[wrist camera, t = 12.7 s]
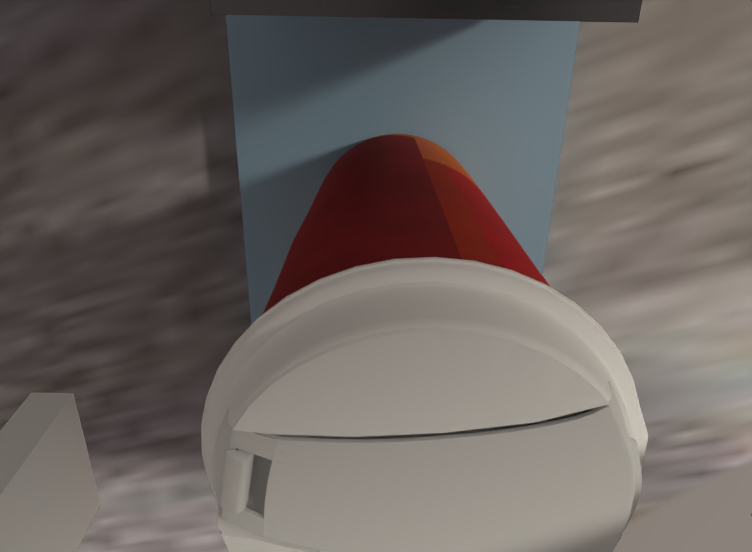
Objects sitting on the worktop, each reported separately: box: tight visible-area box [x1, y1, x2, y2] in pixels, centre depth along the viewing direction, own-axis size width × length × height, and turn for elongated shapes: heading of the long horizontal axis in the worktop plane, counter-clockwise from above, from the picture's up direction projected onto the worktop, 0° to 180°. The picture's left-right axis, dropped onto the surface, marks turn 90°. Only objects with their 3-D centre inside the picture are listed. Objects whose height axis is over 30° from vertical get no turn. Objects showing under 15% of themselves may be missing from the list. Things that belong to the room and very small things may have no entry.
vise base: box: [226, 15, 580, 325], centre depth 19 cm, size 12×23×12 cm, turn 179°
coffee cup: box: [201, 134, 648, 552], centre depth 17 cm, size 8×8×15 cm
